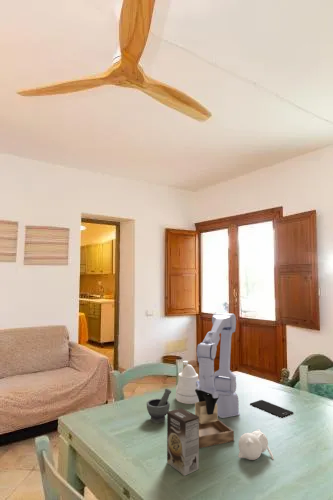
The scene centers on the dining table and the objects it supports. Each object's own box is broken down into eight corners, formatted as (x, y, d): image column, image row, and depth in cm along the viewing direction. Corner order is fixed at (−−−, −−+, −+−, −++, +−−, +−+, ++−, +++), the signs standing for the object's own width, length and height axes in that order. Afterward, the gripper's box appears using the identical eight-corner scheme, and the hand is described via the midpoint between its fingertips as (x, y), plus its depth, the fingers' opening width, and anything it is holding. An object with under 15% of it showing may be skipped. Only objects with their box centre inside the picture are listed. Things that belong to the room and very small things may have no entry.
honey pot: (171, 400, 159) (171, 362, 161) (183, 392, 170) (183, 357, 172) (194, 405, 152) (194, 366, 154) (206, 397, 163) (205, 360, 165)
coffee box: (166, 463, 105) (166, 411, 106) (181, 456, 109) (181, 406, 110) (184, 476, 98) (184, 421, 99) (199, 469, 102) (199, 415, 103)
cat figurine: (260, 420, 115) (241, 430, 107) (284, 447, 108) (265, 459, 100) (248, 437, 118) (229, 448, 109) (271, 464, 111) (252, 478, 102)
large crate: (214, 424, 133) (214, 415, 133) (234, 441, 119) (233, 431, 120) (181, 430, 127) (181, 421, 128) (198, 448, 114) (198, 438, 114)
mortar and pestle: (152, 426, 131) (153, 395, 132) (142, 418, 139) (143, 389, 140) (176, 420, 136) (176, 391, 137) (165, 412, 144) (165, 385, 145)
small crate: (211, 415, 127) (210, 400, 128) (217, 421, 123) (217, 404, 123) (195, 418, 125) (195, 402, 125) (201, 423, 120) (201, 407, 121)
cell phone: (281, 419, 139) (281, 417, 139) (249, 405, 154) (249, 403, 154) (294, 414, 144) (294, 412, 144) (261, 401, 159) (261, 399, 159)
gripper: (189, 370, 131) (189, 405, 129) (206, 381, 117) (206, 420, 116) (204, 369, 133) (204, 403, 132) (223, 379, 120) (223, 417, 119)
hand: (206, 411), depth 124 cm, fingers closed on small crate, 5 cm apart
